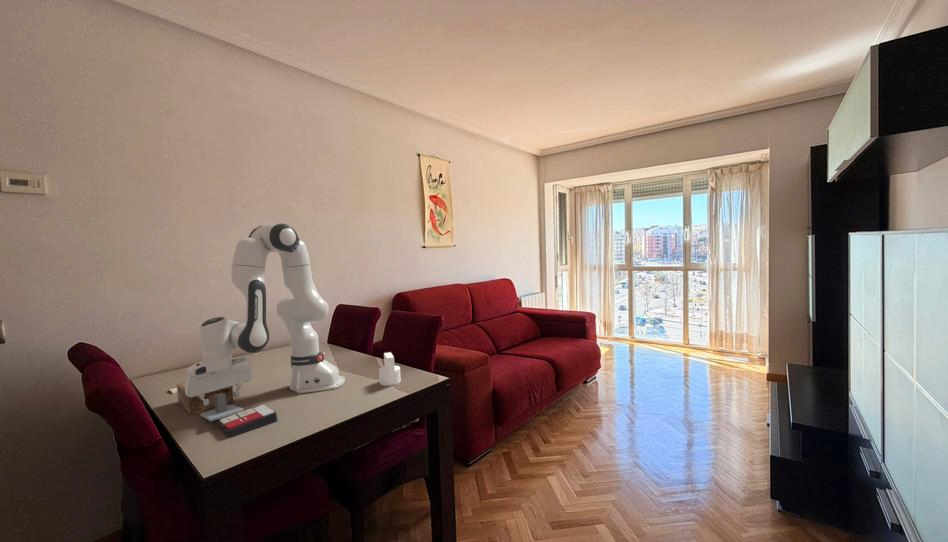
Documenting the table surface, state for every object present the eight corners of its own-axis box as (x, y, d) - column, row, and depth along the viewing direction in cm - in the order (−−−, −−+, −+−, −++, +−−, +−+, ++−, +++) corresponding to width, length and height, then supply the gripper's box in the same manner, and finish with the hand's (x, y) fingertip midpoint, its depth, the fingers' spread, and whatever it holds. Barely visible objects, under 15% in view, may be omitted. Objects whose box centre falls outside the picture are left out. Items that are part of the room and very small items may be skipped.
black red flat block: (217, 419, 130) (264, 402, 141) (219, 431, 130) (266, 413, 141) (227, 428, 122) (276, 410, 133) (228, 441, 123) (278, 422, 134)
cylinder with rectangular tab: (402, 383, 166) (401, 356, 165) (381, 387, 163) (379, 359, 162) (398, 377, 174) (397, 351, 174) (378, 380, 171) (376, 354, 170)
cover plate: (231, 406, 148) (229, 388, 148) (244, 411, 135) (241, 391, 136) (200, 415, 141) (197, 397, 141) (210, 421, 128) (207, 400, 129)
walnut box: (218, 391, 165) (217, 374, 164) (233, 403, 152) (232, 384, 151) (178, 402, 155) (176, 384, 154) (190, 415, 141) (188, 395, 141)
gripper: (246, 354, 148) (250, 389, 149) (181, 369, 133) (186, 408, 134) (252, 357, 144) (256, 393, 145) (185, 373, 129) (190, 413, 130)
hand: (222, 400), depth 139 cm, fingers open, 8 cm apart
